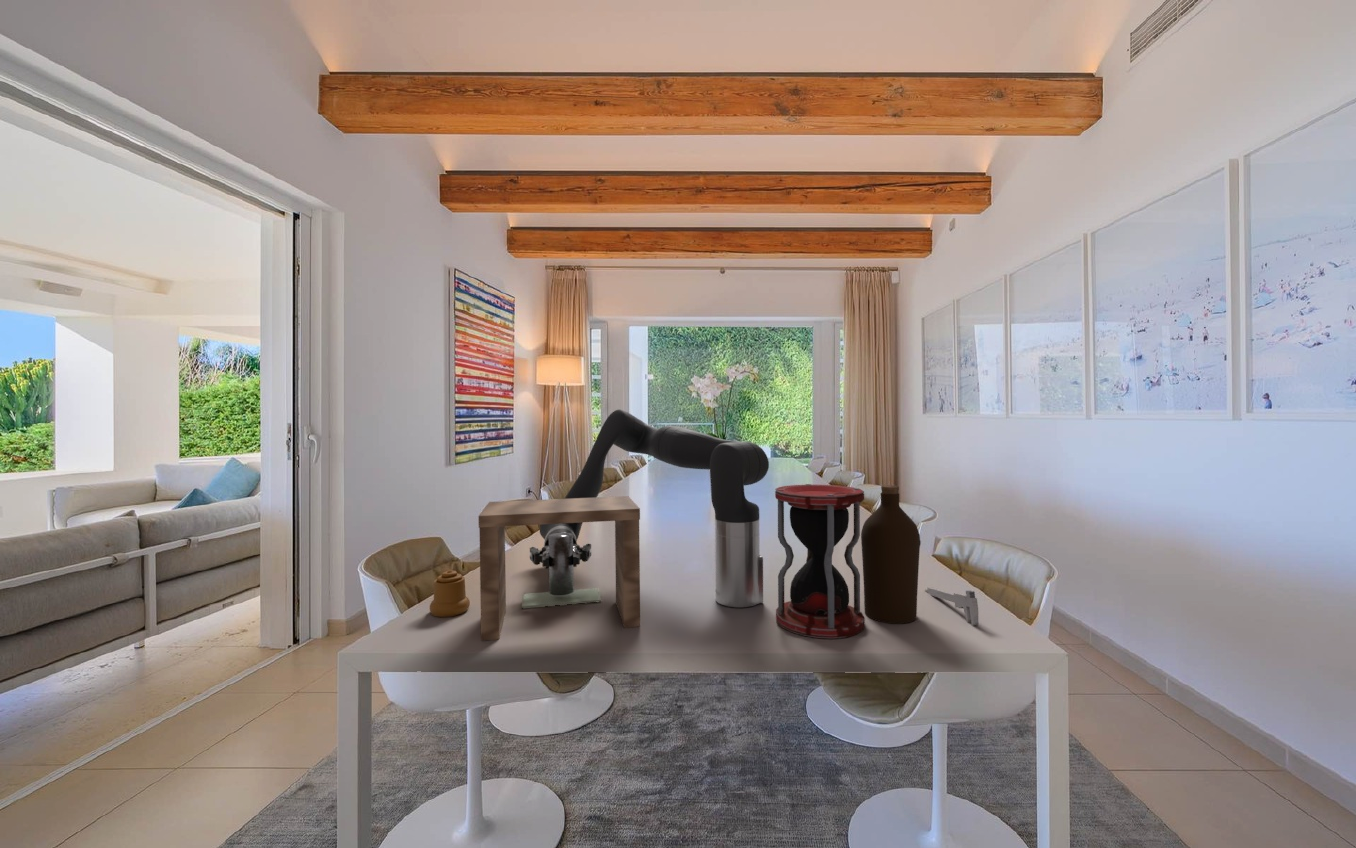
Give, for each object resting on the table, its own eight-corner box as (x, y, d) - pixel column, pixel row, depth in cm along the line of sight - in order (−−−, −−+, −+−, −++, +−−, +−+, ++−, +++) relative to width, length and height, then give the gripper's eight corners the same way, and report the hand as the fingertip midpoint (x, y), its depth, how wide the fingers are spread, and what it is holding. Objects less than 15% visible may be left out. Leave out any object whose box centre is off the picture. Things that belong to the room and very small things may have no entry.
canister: (573, 587, 121) (572, 532, 120) (573, 594, 116) (573, 537, 115) (549, 588, 120) (548, 533, 119) (549, 596, 115) (548, 538, 114)
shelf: (629, 599, 117) (628, 496, 117) (641, 628, 102) (639, 508, 101) (490, 611, 111) (489, 501, 111) (480, 643, 96) (478, 516, 95)
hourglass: (786, 640, 96) (785, 496, 95) (768, 608, 112) (767, 484, 111) (878, 638, 96) (878, 494, 96) (847, 606, 112) (846, 483, 112)
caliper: (978, 628, 101) (979, 593, 101) (972, 628, 101) (973, 593, 101) (929, 592, 122) (929, 563, 122) (924, 592, 122) (924, 563, 122)
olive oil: (887, 628, 100) (886, 491, 100) (849, 609, 110) (849, 484, 110) (932, 620, 104) (932, 488, 104) (892, 603, 114) (892, 481, 114)
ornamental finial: (477, 607, 114) (452, 620, 107) (447, 603, 116) (421, 616, 109) (477, 568, 114) (452, 578, 107) (446, 565, 116) (420, 575, 109)
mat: (598, 590, 124) (598, 588, 124) (601, 602, 116) (601, 599, 116) (524, 596, 120) (523, 593, 120) (521, 608, 113) (521, 606, 113)
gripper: (529, 529, 130) (525, 547, 113) (590, 526, 133) (596, 543, 116) (529, 561, 130) (525, 583, 113) (591, 557, 133) (596, 578, 116)
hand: (561, 562), depth 115 cm, fingers closed on canister, 5 cm apart
